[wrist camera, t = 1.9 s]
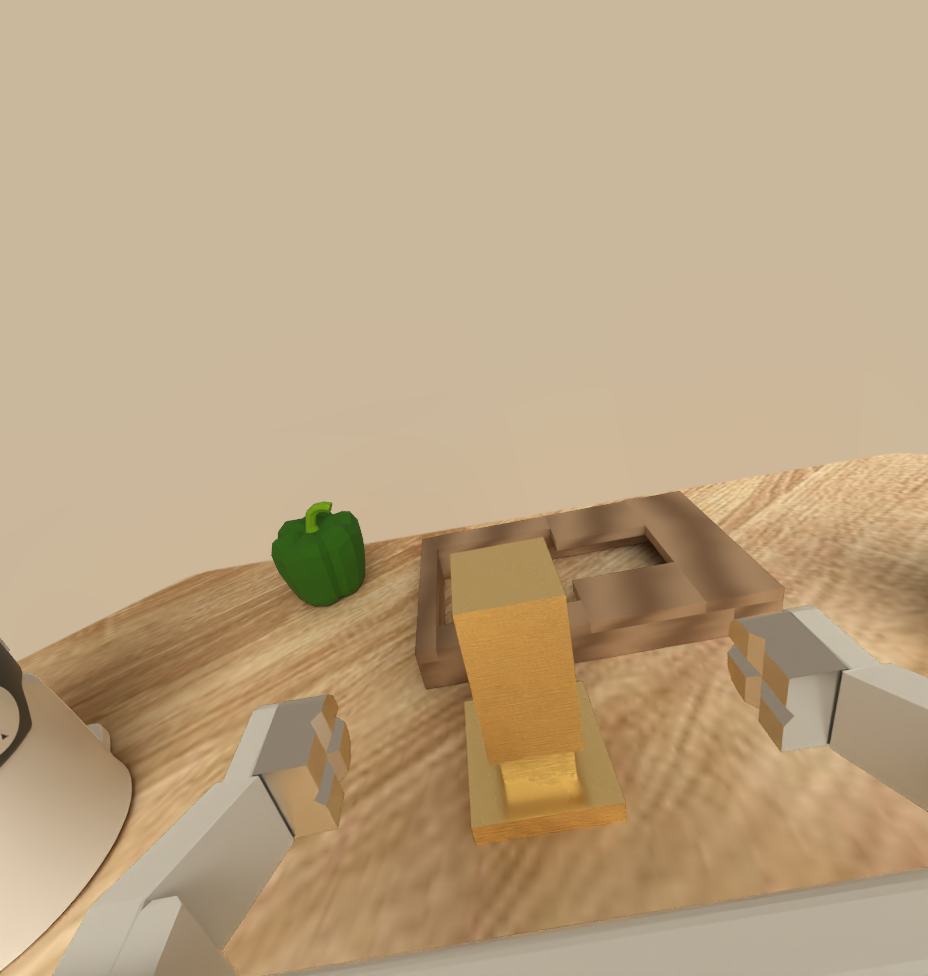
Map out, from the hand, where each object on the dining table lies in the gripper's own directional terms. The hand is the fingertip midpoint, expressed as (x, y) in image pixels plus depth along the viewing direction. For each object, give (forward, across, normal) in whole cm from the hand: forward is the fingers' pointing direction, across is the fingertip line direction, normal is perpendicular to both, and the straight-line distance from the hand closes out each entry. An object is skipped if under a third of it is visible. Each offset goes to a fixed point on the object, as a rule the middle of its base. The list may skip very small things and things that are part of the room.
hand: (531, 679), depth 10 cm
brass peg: (+12, 0, +20) cm, 23 cm away
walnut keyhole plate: (+27, -6, +20) cm, 34 cm away
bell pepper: (+34, +17, +20) cm, 43 cm away
